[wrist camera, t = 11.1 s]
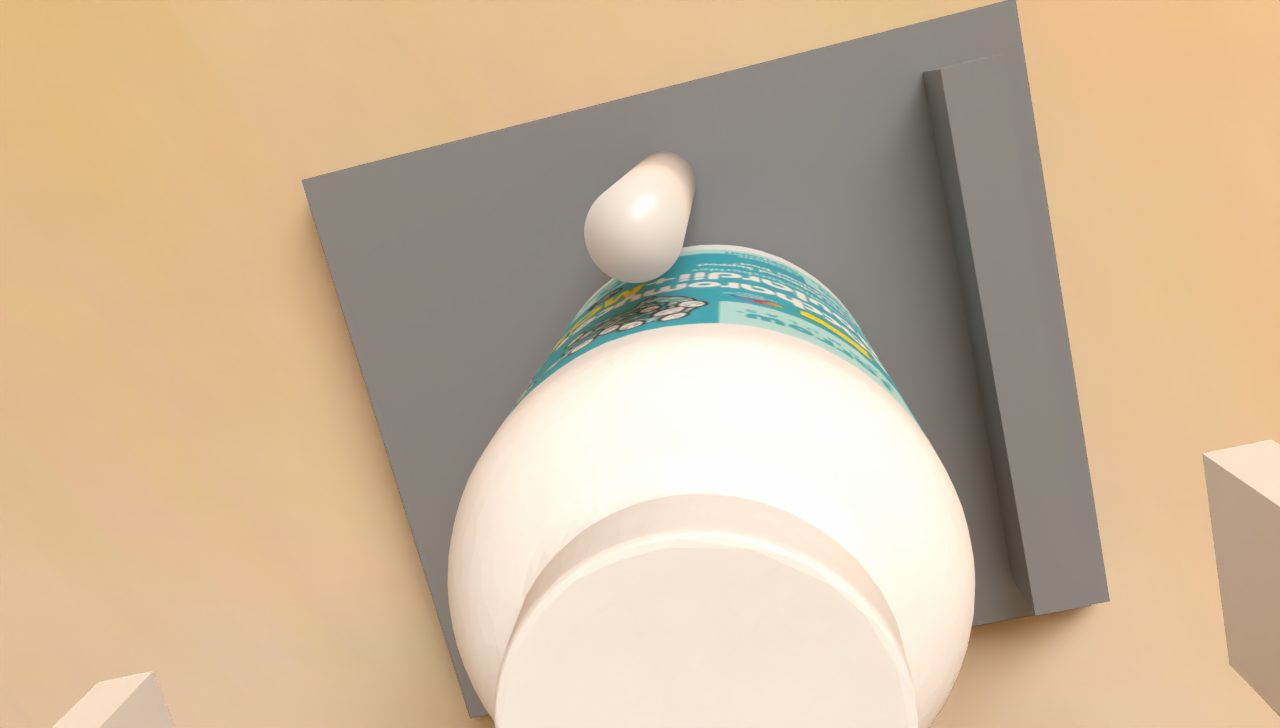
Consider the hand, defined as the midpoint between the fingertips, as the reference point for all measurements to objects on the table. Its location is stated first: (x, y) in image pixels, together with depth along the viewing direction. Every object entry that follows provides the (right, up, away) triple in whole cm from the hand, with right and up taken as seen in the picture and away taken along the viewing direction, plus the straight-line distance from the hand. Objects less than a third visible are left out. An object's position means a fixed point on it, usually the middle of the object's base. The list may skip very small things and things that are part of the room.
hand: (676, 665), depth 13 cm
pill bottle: (+1, +3, +12) cm, 12 cm away
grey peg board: (+1, +3, +12) cm, 13 cm away
